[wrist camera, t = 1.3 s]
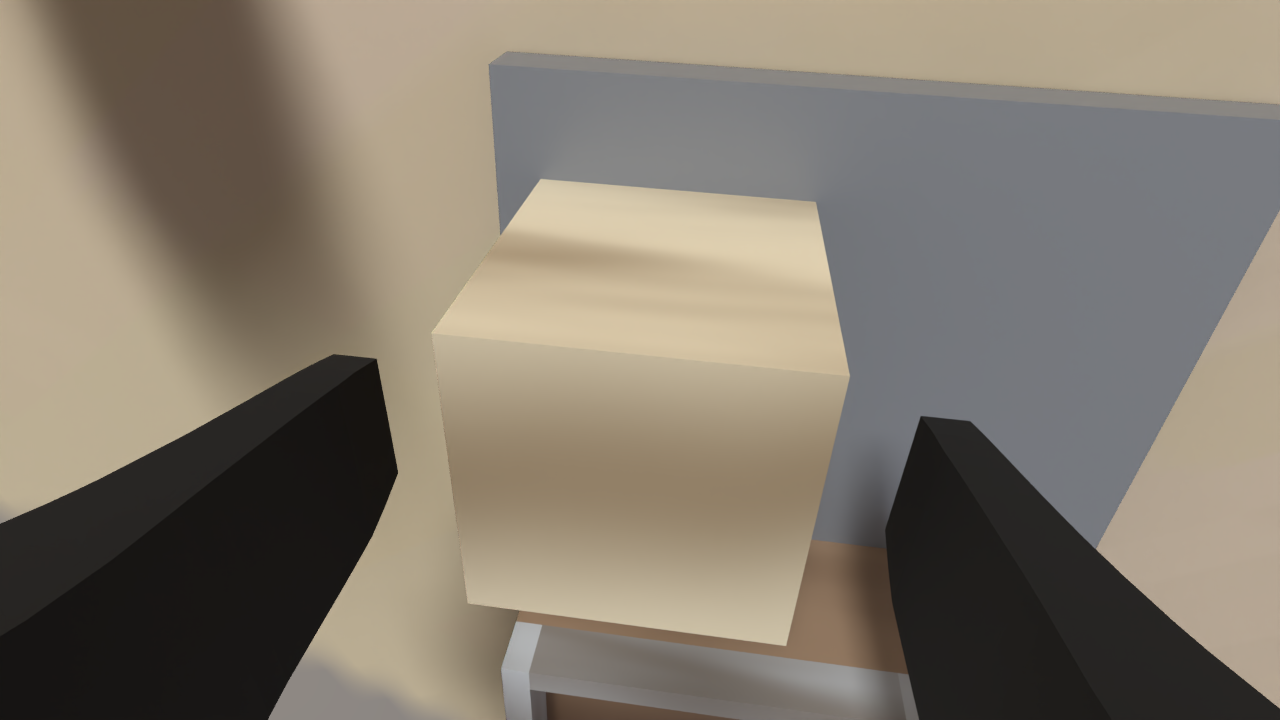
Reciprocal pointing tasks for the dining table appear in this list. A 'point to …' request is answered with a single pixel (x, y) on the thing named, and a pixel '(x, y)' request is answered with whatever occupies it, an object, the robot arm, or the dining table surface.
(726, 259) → the maple block
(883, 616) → the walnut plinth
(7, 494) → the dining table surface
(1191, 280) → the board
